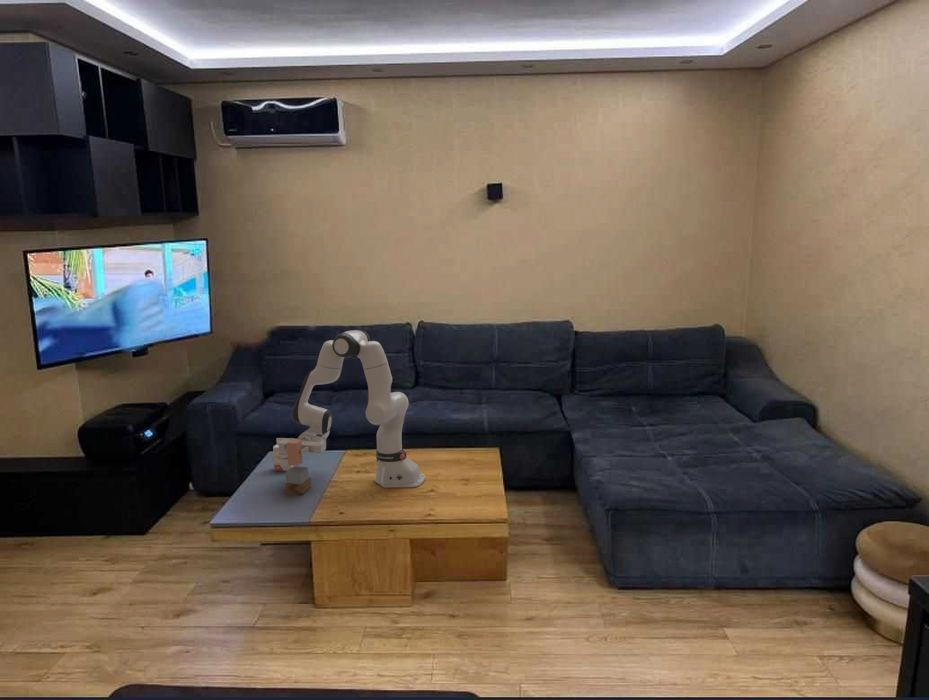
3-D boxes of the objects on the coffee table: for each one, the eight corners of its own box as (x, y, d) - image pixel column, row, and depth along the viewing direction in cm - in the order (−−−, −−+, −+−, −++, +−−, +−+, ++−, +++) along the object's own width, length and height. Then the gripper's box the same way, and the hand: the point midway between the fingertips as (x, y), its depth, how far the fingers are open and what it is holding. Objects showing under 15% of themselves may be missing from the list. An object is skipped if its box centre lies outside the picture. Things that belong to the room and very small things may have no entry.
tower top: (309, 478, 292) (308, 467, 291) (301, 484, 285) (300, 473, 284) (294, 476, 294) (293, 466, 293) (286, 483, 287) (285, 472, 286)
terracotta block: (302, 462, 289) (301, 440, 287) (297, 465, 285) (296, 443, 283) (292, 461, 290) (291, 439, 288) (288, 465, 286) (286, 442, 284)
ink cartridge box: (274, 470, 314) (271, 441, 311) (277, 467, 319) (275, 437, 316) (291, 471, 313) (289, 441, 310) (295, 467, 318) (293, 437, 315)
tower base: (311, 488, 294) (310, 477, 293) (303, 495, 286) (302, 484, 285) (294, 487, 295) (293, 476, 294) (285, 494, 288) (285, 483, 287)
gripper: (286, 433, 301) (271, 443, 288) (328, 435, 296) (315, 446, 283) (287, 446, 302) (272, 457, 289) (329, 449, 298) (316, 460, 284)
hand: (293, 451), depth 286 cm, fingers closed on terracotta block, 4 cm apart
